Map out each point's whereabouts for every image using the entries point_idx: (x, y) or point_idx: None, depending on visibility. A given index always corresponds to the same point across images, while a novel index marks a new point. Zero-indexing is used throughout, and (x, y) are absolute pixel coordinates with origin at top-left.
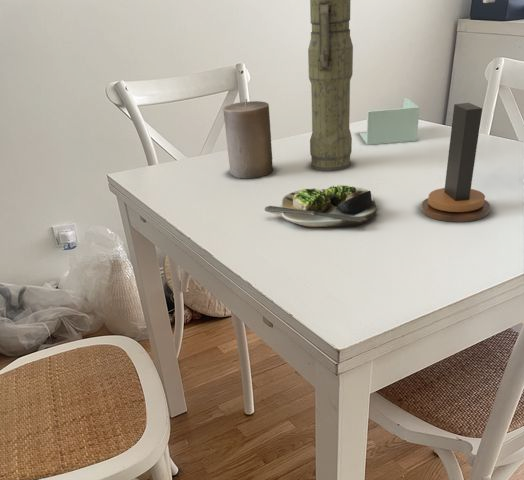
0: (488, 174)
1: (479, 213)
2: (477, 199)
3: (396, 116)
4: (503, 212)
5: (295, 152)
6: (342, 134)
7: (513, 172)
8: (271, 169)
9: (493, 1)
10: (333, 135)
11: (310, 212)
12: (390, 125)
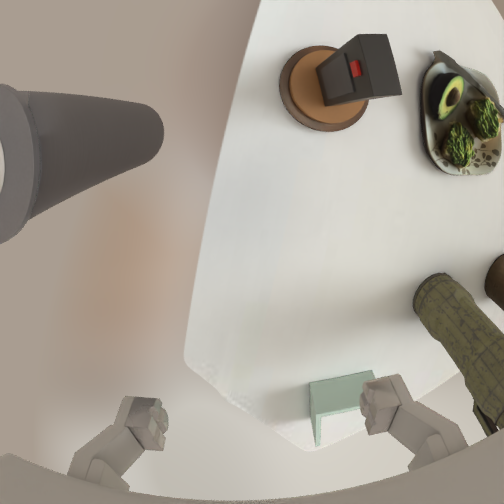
0: (247, 235)
1: (300, 50)
2: (304, 66)
3: (345, 401)
4: (261, 72)
5: None
6: (449, 301)
7: (210, 241)
8: (490, 273)
9: (369, 380)
10: (459, 298)
11: (482, 87)
12: (349, 391)
